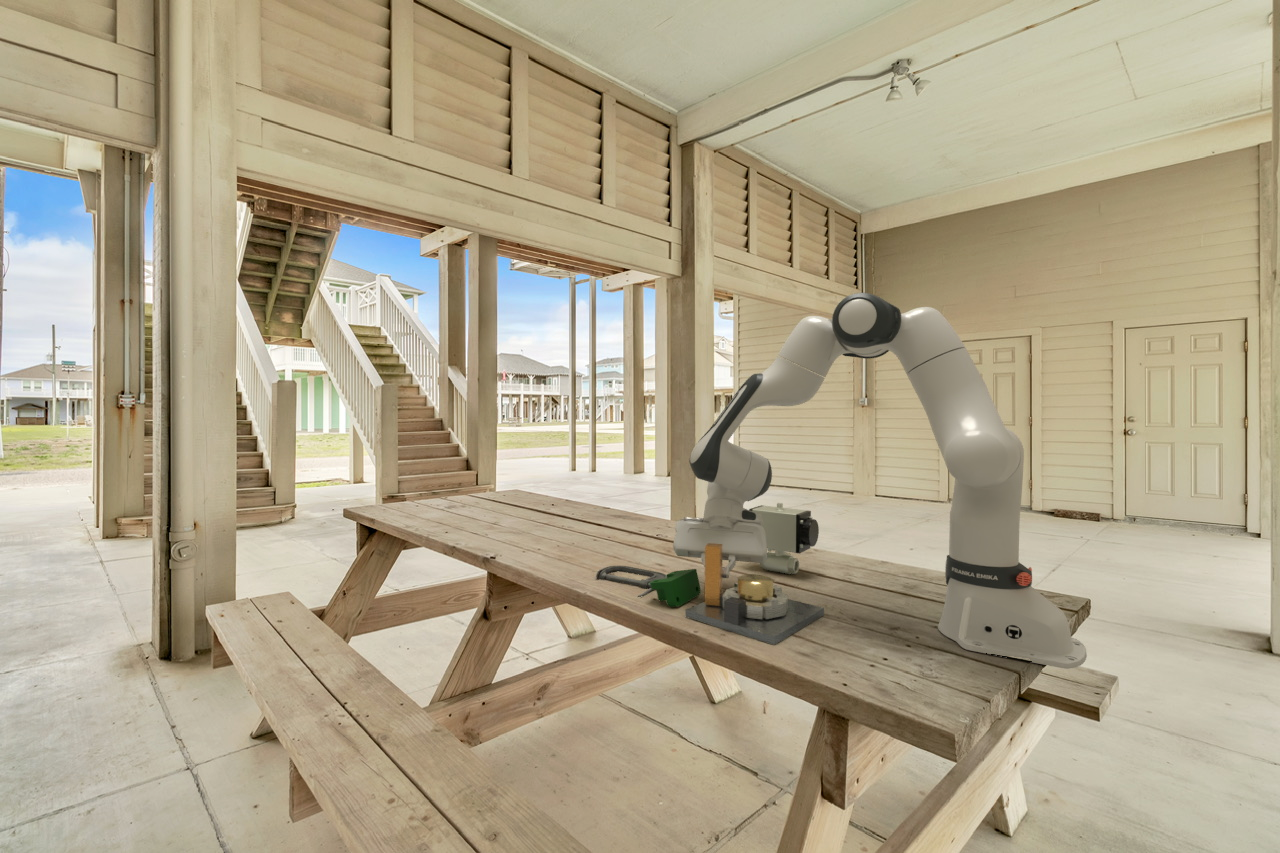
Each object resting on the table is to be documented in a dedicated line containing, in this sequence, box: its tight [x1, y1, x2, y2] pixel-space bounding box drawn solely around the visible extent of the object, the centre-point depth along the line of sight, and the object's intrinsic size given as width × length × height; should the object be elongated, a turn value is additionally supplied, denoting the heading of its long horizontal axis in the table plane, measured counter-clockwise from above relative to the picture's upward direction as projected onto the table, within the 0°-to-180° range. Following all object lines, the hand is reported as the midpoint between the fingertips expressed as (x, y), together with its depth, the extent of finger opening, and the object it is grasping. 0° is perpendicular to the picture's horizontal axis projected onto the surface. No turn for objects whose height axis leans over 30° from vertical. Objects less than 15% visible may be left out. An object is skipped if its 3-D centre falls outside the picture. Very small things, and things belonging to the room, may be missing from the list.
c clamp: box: [595, 565, 667, 598], centre depth 140 cm, size 20×17×3 cm
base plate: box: [684, 573, 825, 646], centre depth 116 cm, size 20×20×8 cm
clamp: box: [650, 568, 701, 608], centre depth 126 cm, size 12×6×9 cm, turn 140°
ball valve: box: [748, 502, 820, 575], centre depth 148 cm, size 18×8×18 cm, turn 52°
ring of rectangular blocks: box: [704, 543, 789, 619], centre depth 117 cm, size 16×12×12 cm
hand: (716, 576), depth 121 cm, fingers open, 2 cm apart
